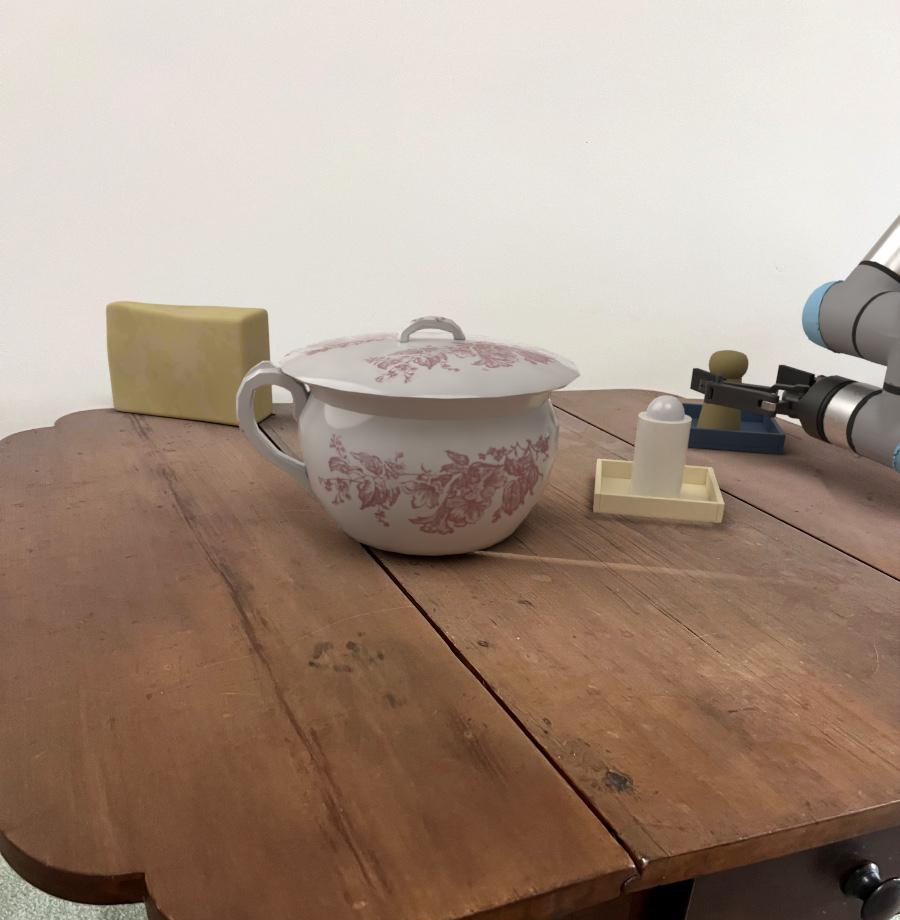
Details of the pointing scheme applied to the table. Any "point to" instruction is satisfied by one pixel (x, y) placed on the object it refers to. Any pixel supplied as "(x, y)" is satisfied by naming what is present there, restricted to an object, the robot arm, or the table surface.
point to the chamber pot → (418, 433)
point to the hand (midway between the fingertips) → (737, 376)
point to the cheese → (185, 359)
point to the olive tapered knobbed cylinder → (732, 369)
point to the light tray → (695, 502)
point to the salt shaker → (660, 449)
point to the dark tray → (737, 433)
